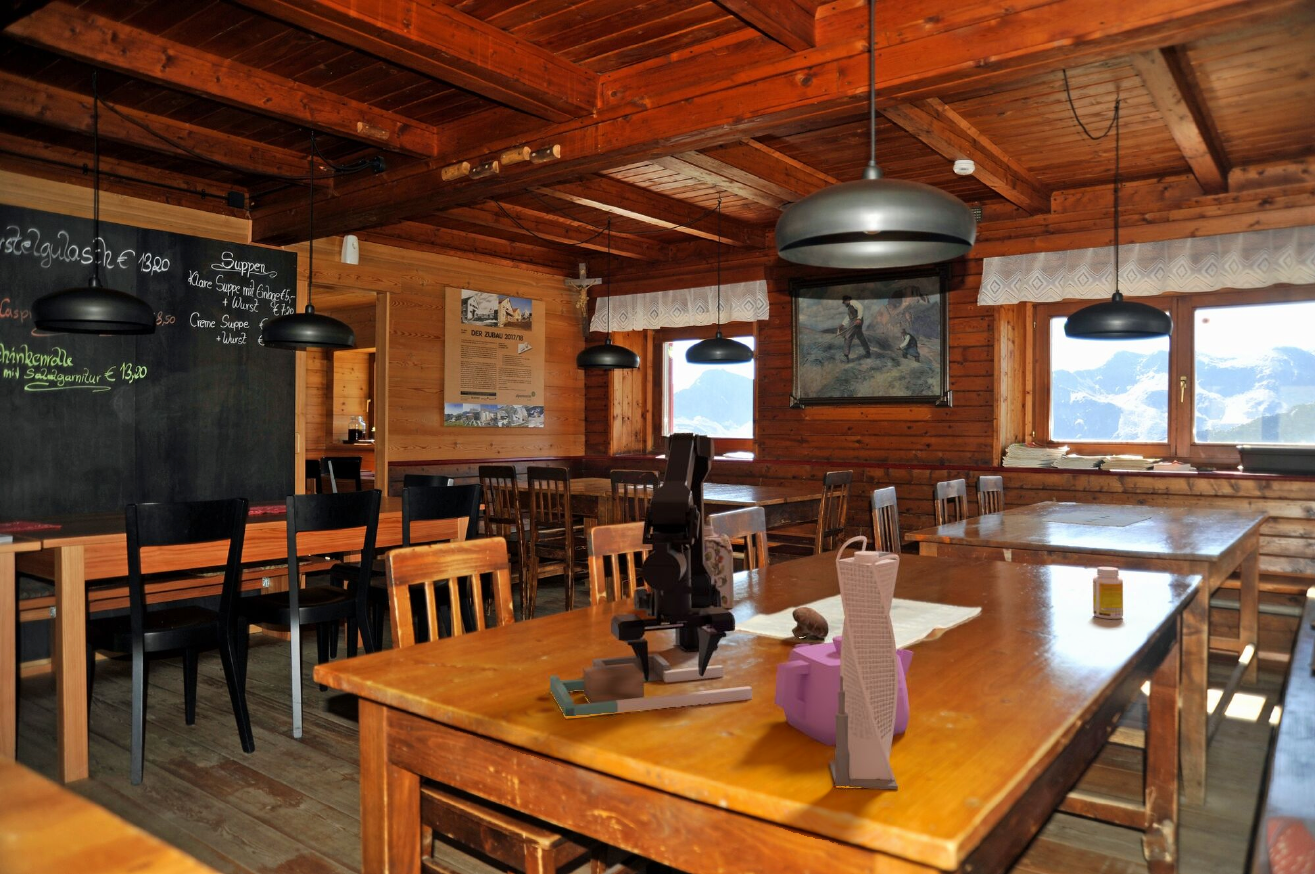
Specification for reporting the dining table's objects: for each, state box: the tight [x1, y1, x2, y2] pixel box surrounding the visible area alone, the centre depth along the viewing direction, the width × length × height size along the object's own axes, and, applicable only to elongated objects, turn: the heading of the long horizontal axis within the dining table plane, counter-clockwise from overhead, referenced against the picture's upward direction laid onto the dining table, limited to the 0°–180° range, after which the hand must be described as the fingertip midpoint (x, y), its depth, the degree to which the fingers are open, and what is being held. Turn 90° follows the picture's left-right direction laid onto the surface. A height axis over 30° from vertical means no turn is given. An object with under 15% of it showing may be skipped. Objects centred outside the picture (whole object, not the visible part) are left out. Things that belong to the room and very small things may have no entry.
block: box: [582, 663, 645, 703], centre depth 133 cm, size 8×6×4 cm
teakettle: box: [774, 635, 914, 747], centre depth 120 cm, size 17×17×12 cm
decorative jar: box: [704, 525, 735, 609], centre depth 201 cm, size 12×12×18 cm
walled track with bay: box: [549, 653, 753, 716], centre depth 138 cm, size 29×21×2 cm
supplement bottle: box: [1092, 566, 1124, 620], centre depth 183 cm, size 6×6×10 cm
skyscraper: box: [828, 535, 900, 790], centre depth 104 cm, size 8×8×28 cm
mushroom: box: [791, 606, 829, 639], centre depth 169 cm, size 8×8×6 cm
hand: (673, 678), depth 136 cm, fingers open, 9 cm apart
